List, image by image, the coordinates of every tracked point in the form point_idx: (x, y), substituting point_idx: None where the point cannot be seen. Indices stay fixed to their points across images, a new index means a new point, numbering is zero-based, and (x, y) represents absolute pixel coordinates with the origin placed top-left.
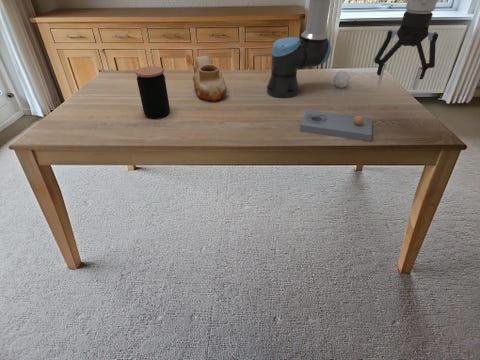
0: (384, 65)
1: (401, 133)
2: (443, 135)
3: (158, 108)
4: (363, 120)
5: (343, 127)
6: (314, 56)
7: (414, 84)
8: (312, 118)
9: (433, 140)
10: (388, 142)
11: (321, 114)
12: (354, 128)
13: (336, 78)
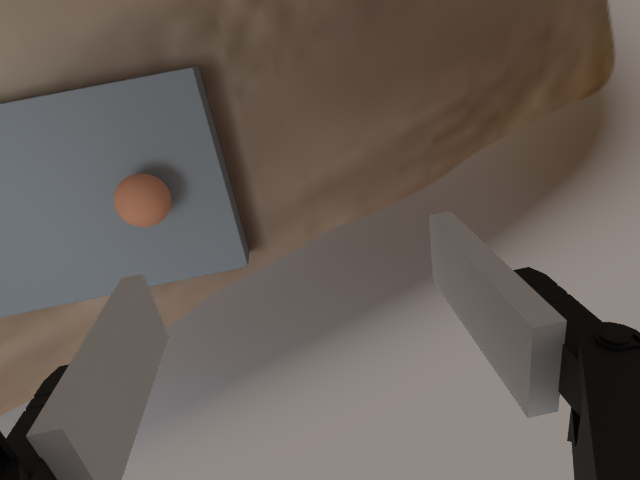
0: (79, 477)
1: (367, 97)
2: (566, 10)
3: None
4: (169, 198)
5: (103, 259)
6: None
7: (449, 293)
8: None
9: (509, 98)
10: (322, 219)
11: None
12: (154, 243)
13: None
